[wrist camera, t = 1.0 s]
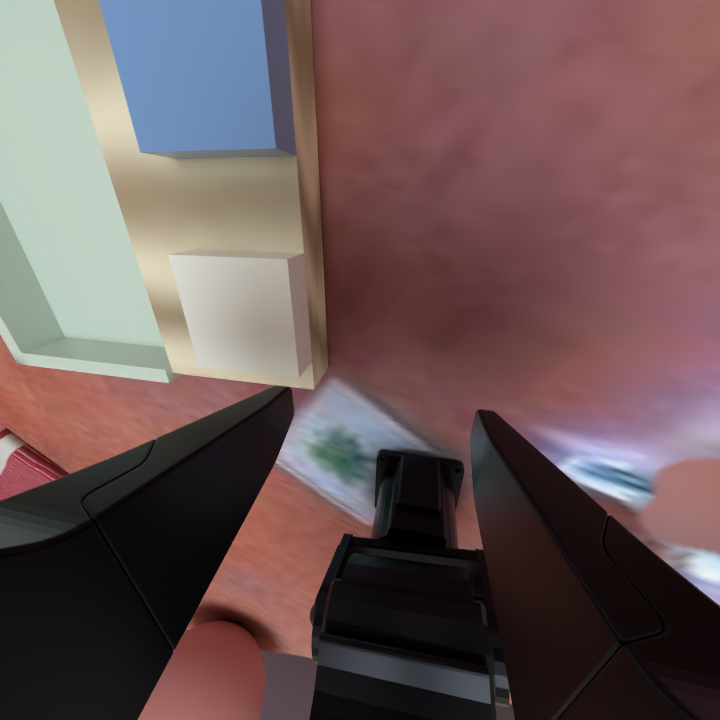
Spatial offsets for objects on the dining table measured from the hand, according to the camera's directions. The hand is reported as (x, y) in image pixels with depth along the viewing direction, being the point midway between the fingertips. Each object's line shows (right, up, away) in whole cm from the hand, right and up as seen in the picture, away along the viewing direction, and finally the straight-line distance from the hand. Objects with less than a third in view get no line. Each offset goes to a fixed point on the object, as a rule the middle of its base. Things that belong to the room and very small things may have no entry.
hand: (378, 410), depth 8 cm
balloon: (-18, -40, +37) cm, 58 cm away
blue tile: (-6, +13, +4) cm, 15 cm away
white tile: (-6, +4, +8) cm, 11 cm away
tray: (-18, +11, +11) cm, 24 cm away
